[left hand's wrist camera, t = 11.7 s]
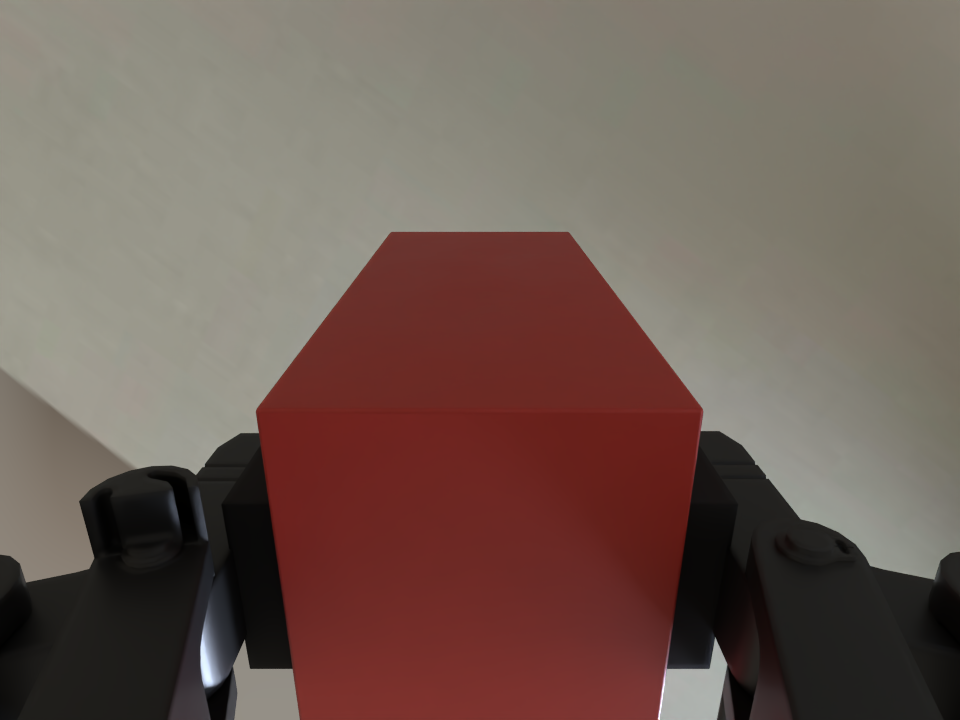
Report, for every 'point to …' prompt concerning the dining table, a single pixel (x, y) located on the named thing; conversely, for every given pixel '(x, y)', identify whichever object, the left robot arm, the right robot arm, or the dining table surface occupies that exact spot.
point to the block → (479, 489)
